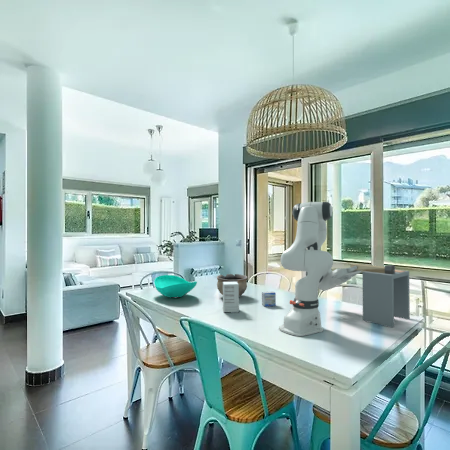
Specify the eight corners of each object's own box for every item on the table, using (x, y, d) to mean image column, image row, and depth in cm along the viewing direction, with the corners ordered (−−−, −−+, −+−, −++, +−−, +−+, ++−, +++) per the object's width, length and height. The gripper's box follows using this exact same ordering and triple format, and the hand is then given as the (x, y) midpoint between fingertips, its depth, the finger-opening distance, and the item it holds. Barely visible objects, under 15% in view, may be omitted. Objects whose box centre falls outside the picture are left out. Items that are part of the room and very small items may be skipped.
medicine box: (264, 307, 190) (264, 293, 190) (261, 305, 194) (261, 291, 194) (275, 306, 192) (275, 292, 192) (272, 304, 196) (272, 291, 196)
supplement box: (239, 312, 178) (239, 284, 178) (223, 313, 177) (223, 284, 177) (237, 308, 187) (237, 281, 187) (222, 308, 187) (222, 281, 187)
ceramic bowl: (241, 292, 231) (240, 273, 231) (252, 299, 210) (252, 277, 210) (213, 294, 224) (213, 274, 224) (222, 301, 203) (222, 279, 203)
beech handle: (390, 274, 154) (390, 266, 154) (350, 269, 172) (349, 262, 172) (394, 273, 158) (394, 265, 158) (354, 268, 175) (354, 261, 175)
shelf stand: (392, 327, 151) (391, 274, 151) (362, 320, 162) (362, 271, 162) (409, 318, 164) (409, 270, 164) (381, 312, 176) (381, 267, 176)
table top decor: (206, 299, 210) (206, 280, 210) (170, 305, 194) (170, 285, 194) (179, 289, 242) (179, 273, 242) (146, 294, 225) (146, 277, 225)
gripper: (327, 272, 174) (347, 262, 165) (346, 269, 187) (365, 260, 177) (332, 283, 171) (352, 273, 162) (351, 279, 184) (370, 269, 175)
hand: (359, 266), depth 170 cm, fingers closed on beech handle, 4 cm apart
